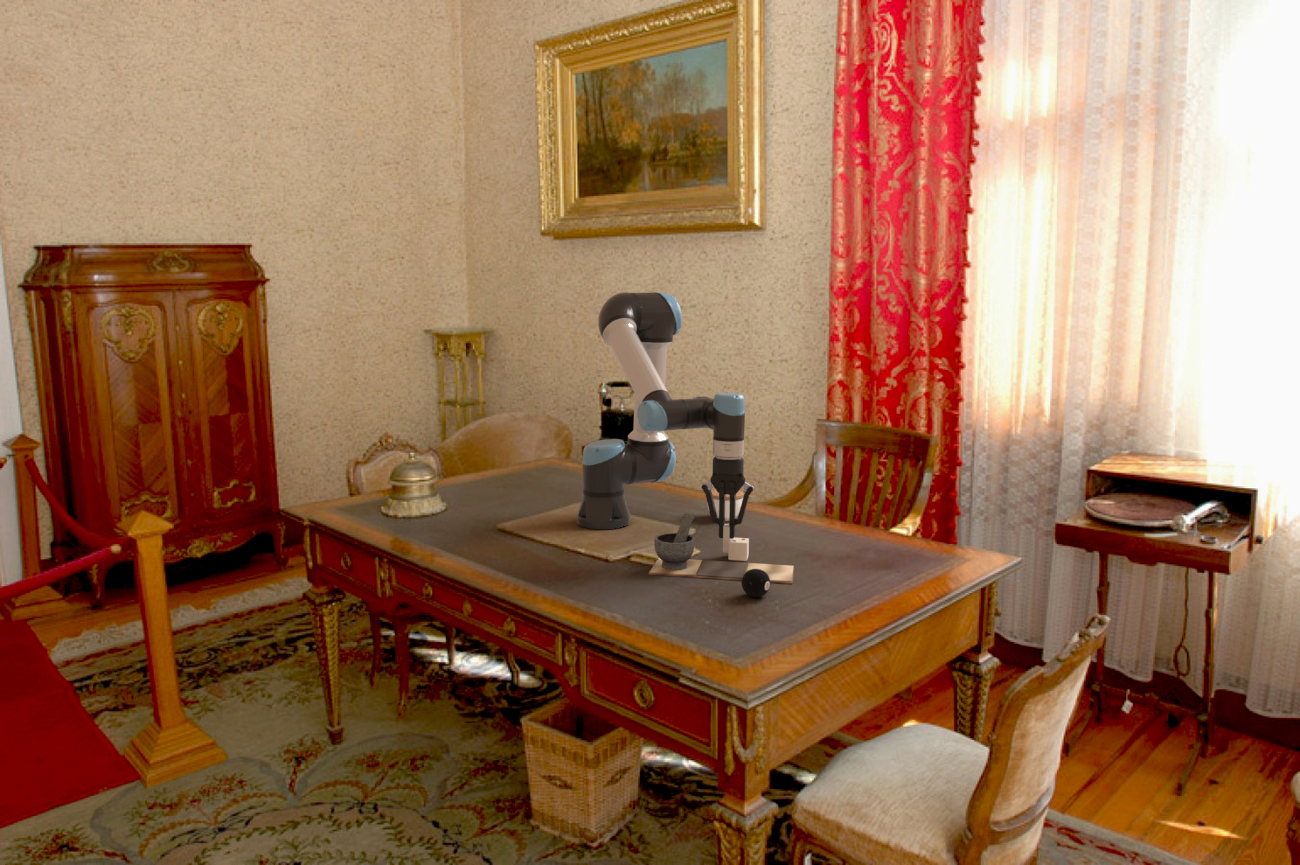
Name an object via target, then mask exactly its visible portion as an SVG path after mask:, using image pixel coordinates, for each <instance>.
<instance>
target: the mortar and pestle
mask: <svg viewBox="0 0 1300 865" xmlns="http://www.w3.org/2000/svg"><path fill="white" fill-rule="evenodd" d="M694 519H695V517H694V516H693V515H691V514H689V513H683V515H682V521H681V522H680V526H679V528H678V530H677V532H668V533H660V534H658V535H655V537H654V551H655V554H656V555H657V556H658V557H657V558H660V559H661V560H662V568H664V569H667V570H683V569H686V568H687V560H688V559H691V558H692V556H693V555H694V550H695V543H696V537H695V536H693V535H690V533H689V532H690V530H691V526H692V522H693V521H695V520H694Z"/></svg>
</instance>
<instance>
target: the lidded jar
mask: <svg viewBox="0 0 1300 865" xmlns="http://www.w3.org/2000/svg"><path fill="white" fill-rule="evenodd" d="M711 491H712V495H713V500H714V504H715V508H716V513H717V517H718V518H719V493H718V492H717V490H716V489H715V488H712V489H711ZM744 494H745V492H744V491H743V490H739V491H738V493H737V494H736V510H735V519H737V518H738V515H739V511H740V507H741V504H742V500H743V496H744ZM706 504H707V509H708V510H709V507H708V503H707V502H706ZM729 513H730V495H728V494H726V496H725V522H729Z"/></svg>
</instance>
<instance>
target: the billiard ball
mask: <svg viewBox="0 0 1300 865" xmlns="http://www.w3.org/2000/svg"><path fill="white" fill-rule="evenodd" d="M741 587H742V590H743V592H745V594H746V595H748V596H749V597H753V598H761V597H763V596H765V595H766V594H767V593H768V592H769V591H770V588H771V583H770V578H769V576H768V574H767V573H766V572H764V571H763V570H760V569H751V570H749V571H747V572H746V573H745V574H744V576H743V578H742V581H741Z"/></svg>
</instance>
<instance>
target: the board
mask: <svg viewBox="0 0 1300 865" xmlns="http://www.w3.org/2000/svg"><path fill="white" fill-rule="evenodd" d="M751 569H760V570H763V571H764V572H766V573H767V574H768V576H769V578H770V584H772V583H773V584H786V585H787V584H788V585H793V582H794V574H795V565H787V564H770V563H769V564H768V563H755V562H753V563H752V562H738V561H723V560H722V561H721V560H710V559H709V560H706V559H691V558H689V559H688V560H687V568H686V569H683V570H667V569H664V568H662V560H657V559H656V561H655V563H654V564H653V565H652V567H651V568H650V570H649V571H648V573H647V574H648V575H649V576H650V575H651V576H664V577H665V576H666V577H679V578H680V577H681V578H682V577H683V578H695V579H696V578H697V579H710V580H711V579H712V580H723V581H724V580H725V581H739V582H742V578H743V576H744V574H745V573H746V572H747V571H749V570H751Z"/></svg>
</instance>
